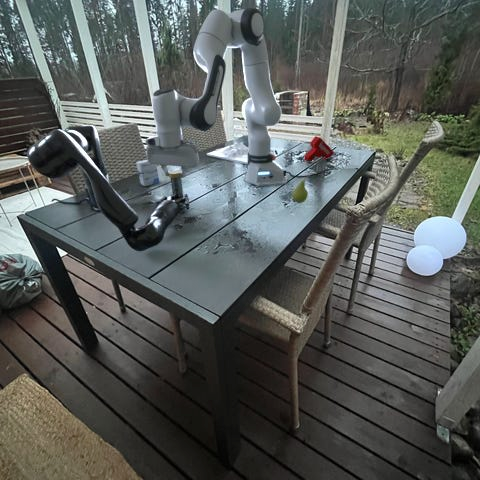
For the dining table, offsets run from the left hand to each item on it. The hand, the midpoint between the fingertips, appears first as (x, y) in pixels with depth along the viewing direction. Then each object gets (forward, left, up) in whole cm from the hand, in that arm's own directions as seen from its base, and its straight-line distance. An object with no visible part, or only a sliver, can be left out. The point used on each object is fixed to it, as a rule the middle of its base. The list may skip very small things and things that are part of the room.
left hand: (180, 195), depth 113 cm
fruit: (+50, +14, -6) cm, 52 cm away
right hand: (0, -3, +9) cm, 10 cm away
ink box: (-27, +26, -6) cm, 38 cm away
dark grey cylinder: (0, -3, -6) cm, 7 cm away
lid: (0, -3, +11) cm, 11 cm away
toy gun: (+64, +79, -6) cm, 102 cm away
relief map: (+11, +85, -6) cm, 86 cm away
